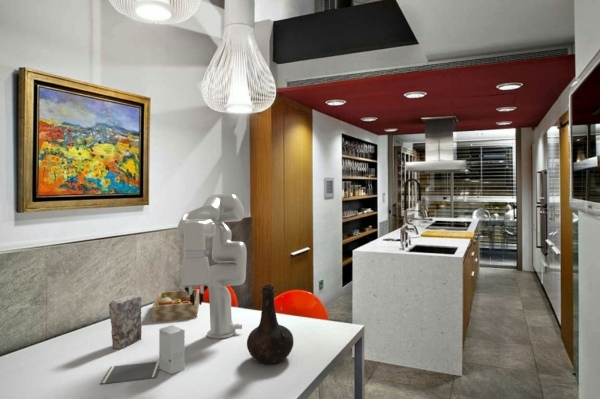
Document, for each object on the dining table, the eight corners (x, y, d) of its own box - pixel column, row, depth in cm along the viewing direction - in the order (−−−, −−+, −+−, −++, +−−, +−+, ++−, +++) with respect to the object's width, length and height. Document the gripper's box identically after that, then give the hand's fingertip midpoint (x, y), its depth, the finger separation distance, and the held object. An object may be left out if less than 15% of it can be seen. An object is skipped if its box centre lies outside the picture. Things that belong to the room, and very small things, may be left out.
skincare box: (159, 369, 151) (157, 328, 150) (173, 363, 155) (171, 324, 155) (171, 375, 145) (170, 333, 145) (186, 369, 150) (184, 328, 150)
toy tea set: (181, 317, 213) (181, 298, 213) (153, 316, 215) (153, 297, 215) (201, 303, 239) (201, 287, 239) (176, 303, 241) (175, 286, 241)
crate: (199, 301, 245) (198, 289, 244) (197, 317, 213) (196, 302, 213) (160, 305, 240) (160, 292, 240) (152, 321, 209) (151, 306, 209)
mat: (161, 362, 157) (161, 360, 157) (155, 377, 143) (155, 376, 143) (110, 367, 154) (110, 366, 154) (100, 384, 140) (100, 383, 140)
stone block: (124, 350, 171) (122, 302, 171) (110, 349, 173) (108, 301, 172) (144, 338, 184) (142, 294, 183) (130, 338, 185) (128, 293, 185)
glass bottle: (276, 372, 144) (273, 293, 144) (237, 363, 154) (234, 288, 153) (303, 355, 159) (300, 283, 159) (266, 347, 169) (263, 279, 168)
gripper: (217, 251, 157) (218, 299, 157) (173, 254, 154) (175, 303, 154) (217, 254, 149) (219, 304, 150) (171, 257, 146) (173, 308, 147)
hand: (197, 303), depth 152 cm, fingers closed
